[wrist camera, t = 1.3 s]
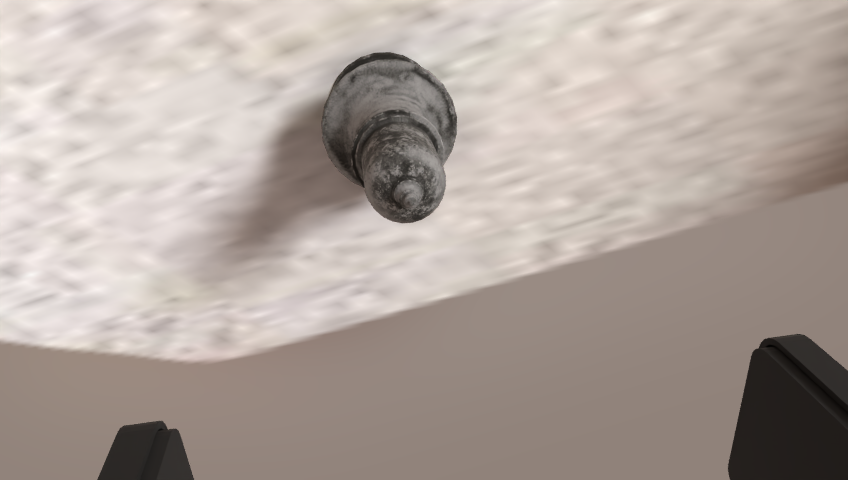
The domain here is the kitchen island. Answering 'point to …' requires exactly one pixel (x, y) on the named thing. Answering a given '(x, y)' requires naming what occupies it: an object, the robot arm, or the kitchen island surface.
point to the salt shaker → (391, 133)
